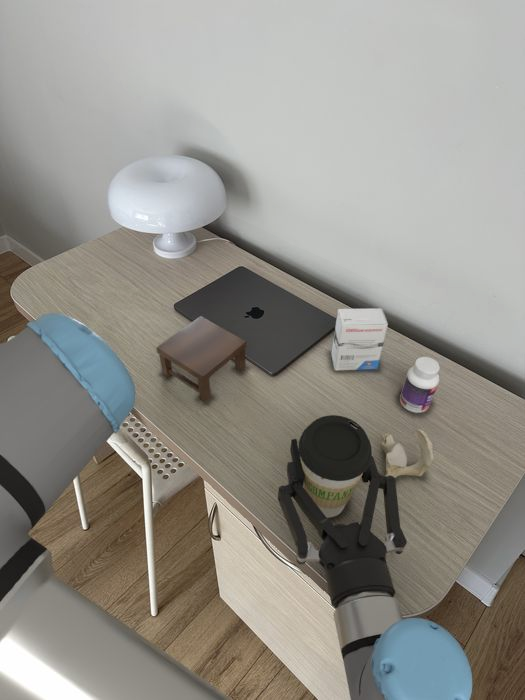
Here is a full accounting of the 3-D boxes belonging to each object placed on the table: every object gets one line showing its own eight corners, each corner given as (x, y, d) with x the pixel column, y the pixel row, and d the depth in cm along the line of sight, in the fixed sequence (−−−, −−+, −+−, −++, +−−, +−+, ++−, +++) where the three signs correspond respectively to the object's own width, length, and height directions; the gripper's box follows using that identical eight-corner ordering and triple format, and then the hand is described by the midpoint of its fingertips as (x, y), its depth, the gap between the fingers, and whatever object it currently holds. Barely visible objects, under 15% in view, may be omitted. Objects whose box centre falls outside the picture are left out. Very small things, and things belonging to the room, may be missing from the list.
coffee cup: (279, 498, 75) (284, 439, 64) (321, 459, 80) (331, 400, 69) (329, 543, 70) (342, 487, 59) (370, 499, 75) (389, 441, 64)
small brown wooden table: (161, 374, 93) (156, 347, 88) (203, 342, 100) (200, 315, 95) (205, 403, 88) (202, 377, 83) (246, 367, 95) (246, 341, 90)
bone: (357, 463, 78) (390, 413, 74) (373, 453, 83) (404, 407, 79) (402, 500, 74) (439, 449, 70) (416, 488, 79) (450, 440, 75)
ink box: (372, 352, 98) (383, 306, 90) (377, 370, 95) (389, 324, 87) (330, 353, 98) (337, 307, 90) (334, 371, 94) (341, 325, 86)
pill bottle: (428, 417, 87) (442, 379, 80) (397, 409, 88) (409, 371, 81) (430, 395, 90) (445, 357, 84) (401, 388, 91) (413, 350, 85)
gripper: (271, 625, 58) (252, 462, 74) (445, 604, 60) (390, 450, 76) (272, 602, 53) (252, 432, 69) (463, 580, 54) (400, 420, 71)
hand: (324, 441), depth 72 cm, fingers closed on coffee cup, 9 cm apart
